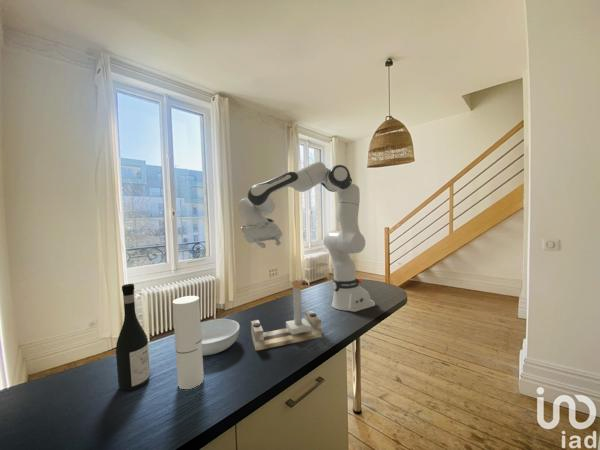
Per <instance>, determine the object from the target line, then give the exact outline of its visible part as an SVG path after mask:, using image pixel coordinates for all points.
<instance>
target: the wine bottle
mask: <svg viewBox="0 0 600 450" xmlns="http://www.w3.org/2000/svg"><path fill="white" fill-rule="evenodd" d="M121 291H122V298H123V299H122V300H123V309H124V310H123V311H124V316H123V318H124V319H123V322H122V327H121V329H120V332H119V335H118V337H117V341H116V347H115V355H116V356H115V358H116V372H117V383H118V387H119V389H120V390H121V391H127V390H128V391H133V390H132V389H134V390H136V389H138V387H139V388H141V387H142V386H144V385H145V384H146V383H147V382H148V381H149V380H150V377H151V367H150V352H149V351H150V350H149V341H148V337H147V335H146V332H145V330H144V329H143V327H142V325H141V324H140V322H139V320H138V318H137V314H136V304H135V303H136V302H135V301H136V300H135V284H134V283H128V284H127V283H126V284H123V285H122V286H121ZM140 386H141V387H140ZM135 388H136V389H135Z"/></svg>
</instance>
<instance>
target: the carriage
mask: <svg viewBox="0 0 600 450" xmlns="http://www.w3.org/2000/svg"><path fill="white" fill-rule="evenodd" d="M291 286H292V296H293V297H292V298H293V300H292V301H293V320H287V321H285V328H288V330H289V331H290V333H291V334H297V333H302V332H307V331H311V325H310V324H309V323H308V322H307V321H306V319H305V317H304V318H303V315H302V295H301V287H302V283H301V281H299V280H293V281H292V283H291Z"/></svg>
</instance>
